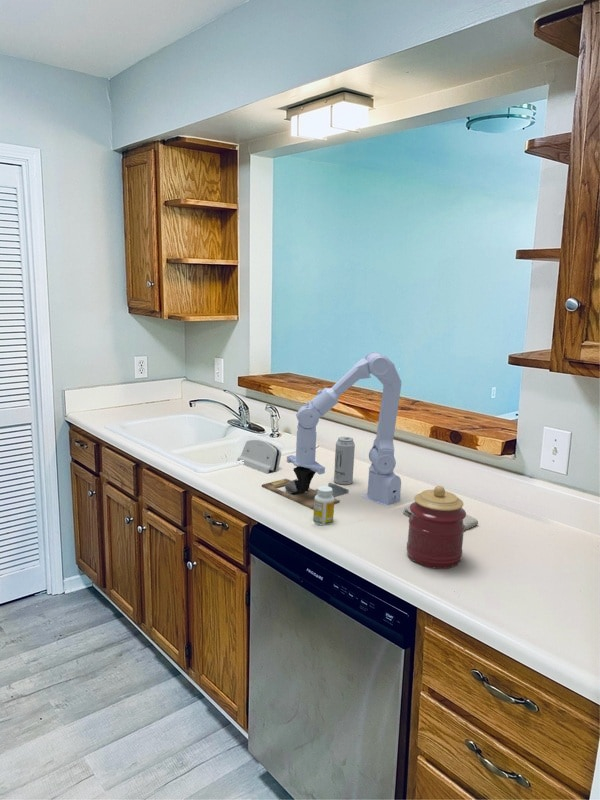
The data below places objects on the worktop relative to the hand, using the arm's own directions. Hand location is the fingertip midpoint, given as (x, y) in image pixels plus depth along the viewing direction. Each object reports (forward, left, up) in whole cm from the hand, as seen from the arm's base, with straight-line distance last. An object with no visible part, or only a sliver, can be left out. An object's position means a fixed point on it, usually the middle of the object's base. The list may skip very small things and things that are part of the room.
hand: (304, 491), depth 173 cm
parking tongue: (-2, -10, -2) cm, 10 cm away
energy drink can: (+2, -19, -2) cm, 19 cm away
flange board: (+2, 0, -2) cm, 3 cm away
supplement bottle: (-17, +8, -2) cm, 18 cm away
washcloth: (-35, -19, -3) cm, 40 cm away
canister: (-47, +1, -2) cm, 47 cm away
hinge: (+32, -9, -3) cm, 33 cm away
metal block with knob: (+3, 0, -1) cm, 3 cm away
